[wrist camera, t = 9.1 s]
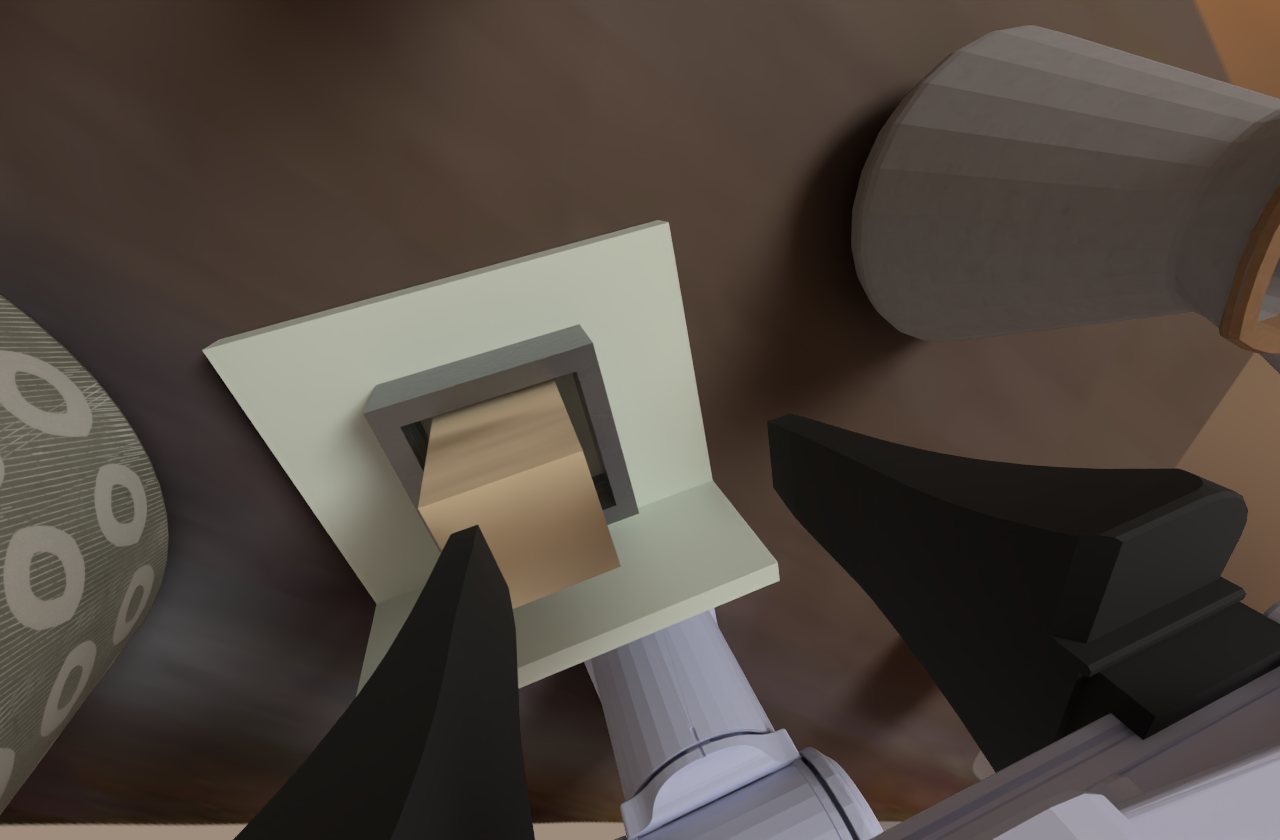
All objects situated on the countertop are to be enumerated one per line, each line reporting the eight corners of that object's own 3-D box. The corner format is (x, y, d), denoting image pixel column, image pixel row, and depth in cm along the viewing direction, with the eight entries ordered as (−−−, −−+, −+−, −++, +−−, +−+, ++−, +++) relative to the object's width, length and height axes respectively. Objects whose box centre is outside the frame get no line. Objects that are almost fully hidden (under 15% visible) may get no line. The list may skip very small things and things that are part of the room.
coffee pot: (767, 211, 21) (1260, 271, 8) (974, -34, 19) (2052, -485, 6) (966, 457, 31) (1318, 658, 18) (1111, 313, 29) (1612, 421, 16)
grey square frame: (631, 510, 24) (647, 543, 21) (472, 568, 22) (472, 610, 20) (579, 324, 19) (593, 342, 17) (376, 385, 18) (363, 413, 16)
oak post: (579, 457, 21) (620, 566, 15) (479, 492, 21) (481, 621, 15) (548, 365, 19) (582, 450, 13) (435, 401, 19) (417, 508, 13)
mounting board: (705, 483, 26) (779, 580, 20) (390, 599, 23) (361, 754, 17) (658, 219, 19) (745, 240, 13) (218, 339, 17) (71, 434, 11)
